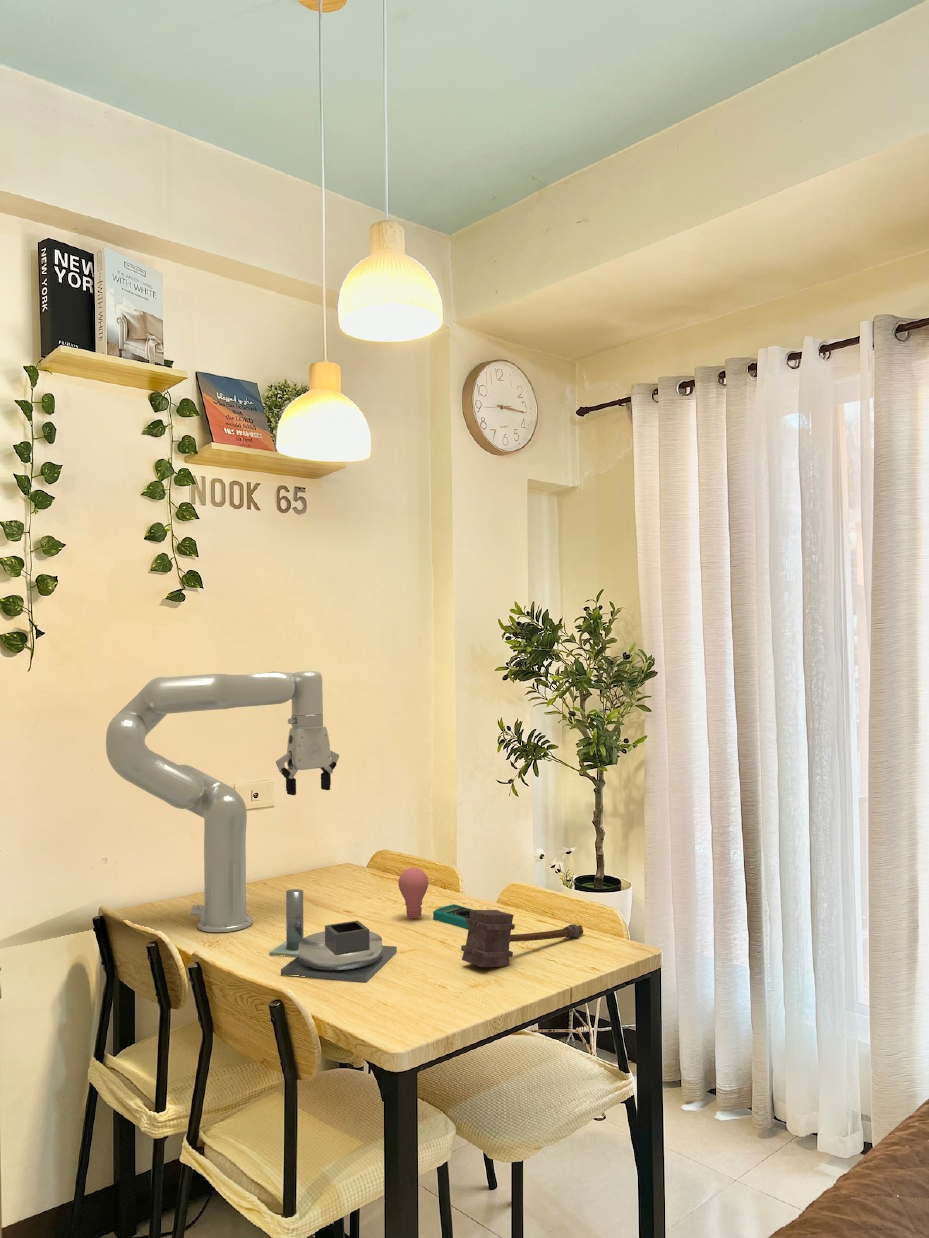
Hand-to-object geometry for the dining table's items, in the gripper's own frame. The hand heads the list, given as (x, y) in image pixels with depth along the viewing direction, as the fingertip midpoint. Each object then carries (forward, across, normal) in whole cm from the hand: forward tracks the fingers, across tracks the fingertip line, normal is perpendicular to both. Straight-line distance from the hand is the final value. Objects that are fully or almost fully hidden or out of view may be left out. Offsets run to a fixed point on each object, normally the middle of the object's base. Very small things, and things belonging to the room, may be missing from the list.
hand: (308, 792), depth 224 cm
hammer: (+31, +19, -56) cm, 66 cm away
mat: (+30, -17, -20) cm, 40 cm away
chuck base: (+30, -14, -34) cm, 47 cm away
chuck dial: (+28, -14, -34) cm, 46 cm away
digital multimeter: (+31, +23, -30) cm, 49 cm away
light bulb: (+30, +16, -20) cm, 40 cm away
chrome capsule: (+29, -17, -20) cm, 39 cm away
